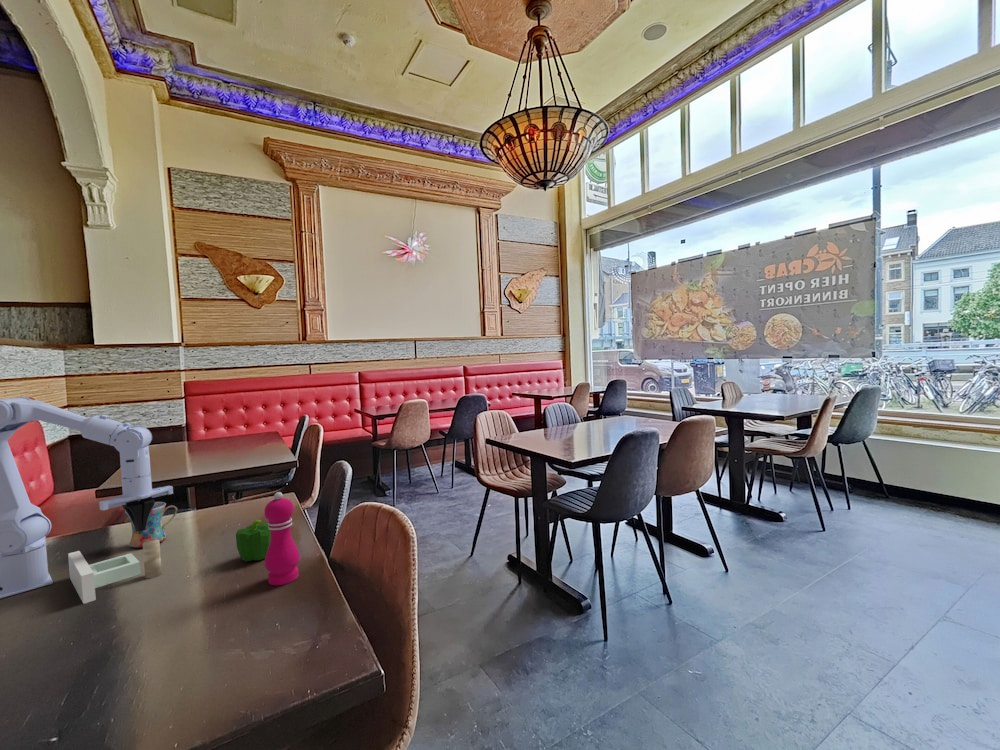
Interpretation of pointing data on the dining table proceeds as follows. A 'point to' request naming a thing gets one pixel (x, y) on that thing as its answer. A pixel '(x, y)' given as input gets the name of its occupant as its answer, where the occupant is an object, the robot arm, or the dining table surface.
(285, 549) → the pepper mill
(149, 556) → the dowel
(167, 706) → the dining table surface
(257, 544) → the bell pepper
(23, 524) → the robot arm
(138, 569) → the socket block
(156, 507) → the mug
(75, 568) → the wall
